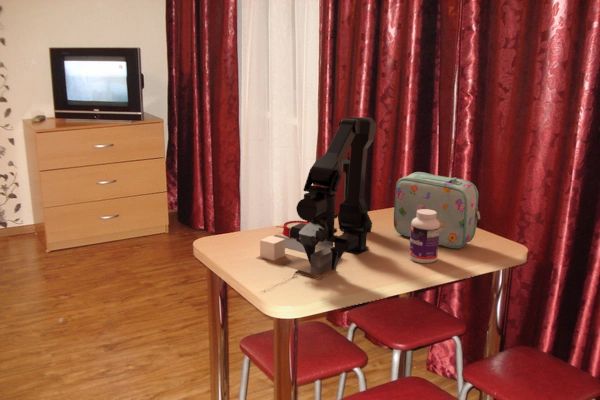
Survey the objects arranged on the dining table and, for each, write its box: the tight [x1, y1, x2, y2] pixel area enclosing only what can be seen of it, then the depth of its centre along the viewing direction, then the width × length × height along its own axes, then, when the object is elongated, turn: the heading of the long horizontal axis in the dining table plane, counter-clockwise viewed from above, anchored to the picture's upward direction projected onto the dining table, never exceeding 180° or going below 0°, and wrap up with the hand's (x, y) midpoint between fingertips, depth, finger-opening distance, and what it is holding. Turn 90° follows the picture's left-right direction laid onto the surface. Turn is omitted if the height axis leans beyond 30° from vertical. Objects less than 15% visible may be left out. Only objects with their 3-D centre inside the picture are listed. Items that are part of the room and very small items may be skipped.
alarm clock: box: [276, 220, 309, 238], centre depth 201 cm, size 10×6×15 cm
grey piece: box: [273, 234, 334, 254], centre depth 189 cm, size 22×8×6 cm, turn 54°
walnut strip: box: [255, 248, 337, 280], centre depth 175 cm, size 22×8×6 cm, turn 55°
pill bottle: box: [408, 209, 440, 264], centre depth 181 cm, size 8×8×14 cm
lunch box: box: [393, 171, 481, 249], centre depth 197 cm, size 27×10×21 cm, turn 50°
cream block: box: [259, 235, 286, 260], centre depth 180 cm, size 5×5×5 cm
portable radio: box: [341, 151, 351, 201], centre depth 207 cm, size 8×6×25 cm
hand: (322, 266), depth 171 cm, fingers open, 7 cm apart
